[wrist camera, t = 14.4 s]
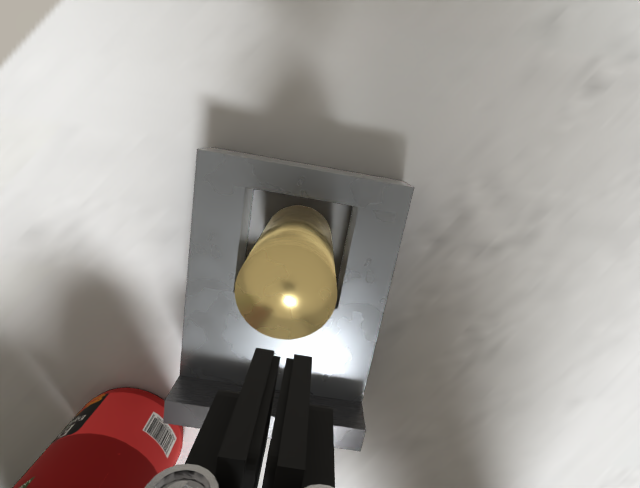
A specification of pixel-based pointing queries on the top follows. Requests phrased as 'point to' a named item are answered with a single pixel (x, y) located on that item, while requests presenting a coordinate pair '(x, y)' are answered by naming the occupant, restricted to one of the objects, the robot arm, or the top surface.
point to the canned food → (109, 445)
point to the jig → (229, 256)
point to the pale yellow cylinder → (289, 276)
